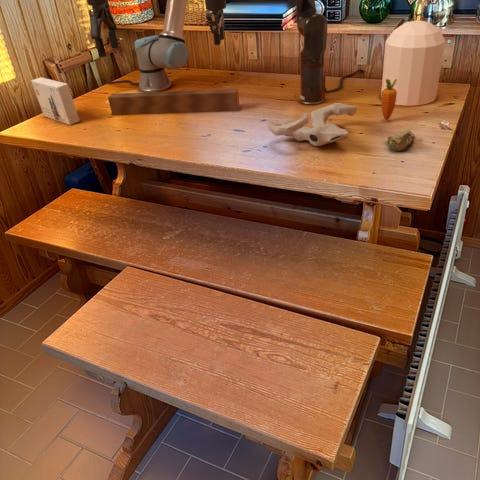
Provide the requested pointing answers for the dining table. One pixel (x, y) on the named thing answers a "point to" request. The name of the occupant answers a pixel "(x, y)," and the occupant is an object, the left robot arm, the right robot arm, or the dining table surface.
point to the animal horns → (314, 125)
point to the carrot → (388, 99)
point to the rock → (400, 140)
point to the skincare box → (55, 100)
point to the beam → (174, 102)
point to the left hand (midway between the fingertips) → (109, 52)
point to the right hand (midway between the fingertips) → (219, 42)
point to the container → (414, 62)
